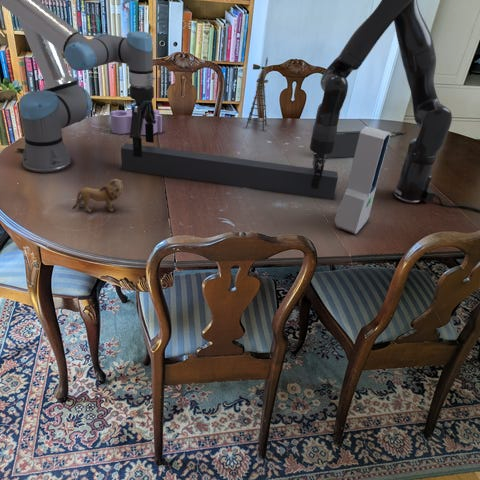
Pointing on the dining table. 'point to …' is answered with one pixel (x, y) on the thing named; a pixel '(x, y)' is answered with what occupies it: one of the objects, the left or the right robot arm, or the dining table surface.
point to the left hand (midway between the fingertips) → (144, 149)
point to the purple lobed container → (123, 122)
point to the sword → (396, 133)
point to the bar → (228, 171)
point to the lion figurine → (100, 194)
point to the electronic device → (362, 179)
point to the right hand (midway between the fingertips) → (314, 184)
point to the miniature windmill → (257, 67)
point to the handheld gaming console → (345, 144)
